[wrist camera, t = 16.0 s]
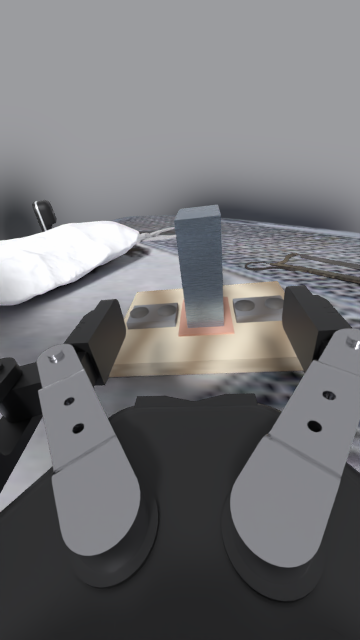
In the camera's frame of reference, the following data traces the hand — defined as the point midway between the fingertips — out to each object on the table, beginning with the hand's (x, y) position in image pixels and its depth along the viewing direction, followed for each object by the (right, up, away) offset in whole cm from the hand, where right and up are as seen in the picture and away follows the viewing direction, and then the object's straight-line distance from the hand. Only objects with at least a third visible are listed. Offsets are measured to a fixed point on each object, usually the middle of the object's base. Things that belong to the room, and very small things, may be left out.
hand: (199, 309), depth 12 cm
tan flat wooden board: (+2, -1, +15) cm, 15 cm away
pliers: (-7, +20, +52) cm, 56 cm away
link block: (+2, 0, +14) cm, 14 cm away
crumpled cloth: (-24, +7, +34) cm, 42 cm away
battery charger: (-34, +19, +55) cm, 67 cm away
